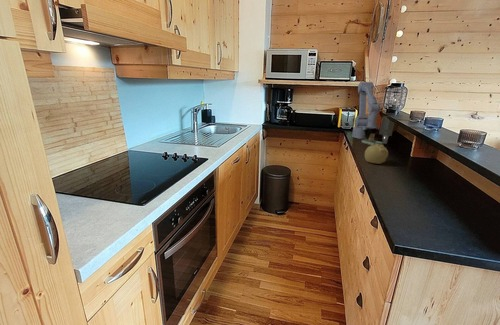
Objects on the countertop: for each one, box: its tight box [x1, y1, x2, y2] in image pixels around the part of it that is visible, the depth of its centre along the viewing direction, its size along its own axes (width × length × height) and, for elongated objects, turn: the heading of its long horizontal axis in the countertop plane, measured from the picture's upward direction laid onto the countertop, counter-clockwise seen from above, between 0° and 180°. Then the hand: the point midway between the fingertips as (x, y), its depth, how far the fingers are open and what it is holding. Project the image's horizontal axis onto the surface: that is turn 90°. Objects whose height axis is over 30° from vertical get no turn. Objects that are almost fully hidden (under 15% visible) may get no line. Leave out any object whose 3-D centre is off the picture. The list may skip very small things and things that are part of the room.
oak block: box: [364, 133, 376, 142], centre depth 194 cm, size 4×4×6 cm
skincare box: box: [378, 116, 395, 137], centre depth 222 cm, size 8×7×16 cm
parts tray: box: [360, 139, 384, 146], centre depth 193 cm, size 12×9×2 cm
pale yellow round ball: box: [364, 144, 389, 165], centre depth 147 cm, size 12×12×11 cm
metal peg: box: [381, 135, 389, 145], centre depth 194 cm, size 4×4×6 cm
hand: (369, 138), depth 195 cm, fingers closed on oak block, 4 cm apart
